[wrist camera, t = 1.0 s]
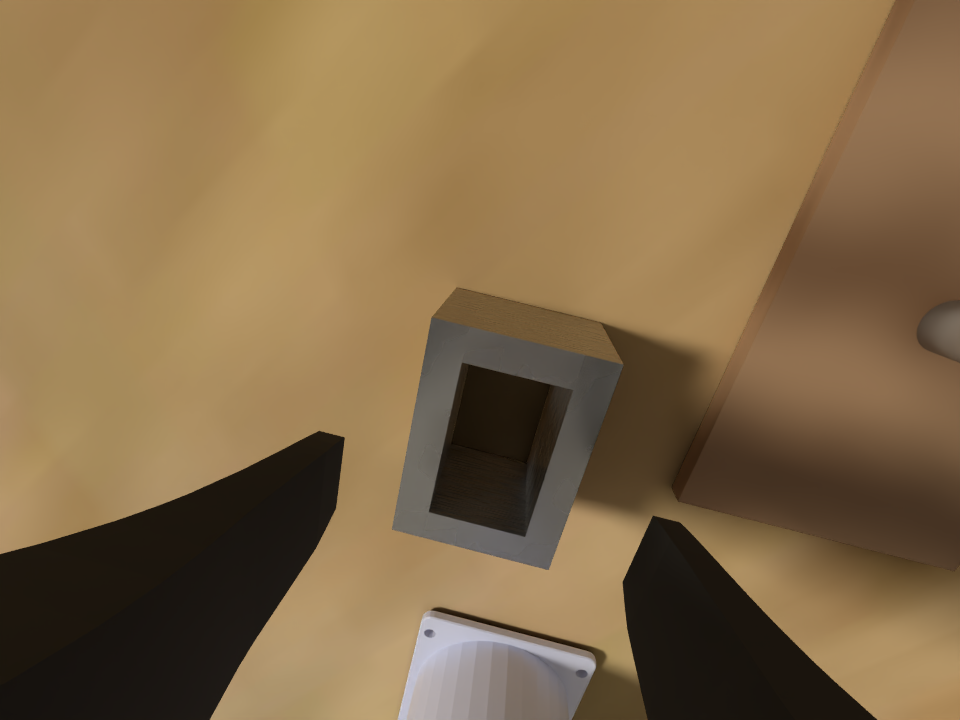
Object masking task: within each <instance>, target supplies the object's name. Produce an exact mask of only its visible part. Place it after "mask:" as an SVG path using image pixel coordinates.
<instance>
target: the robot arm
mask: <svg viewBox="0 0 960 720" xmlns="http://www.w3.org/2000/svg"><path fill="white" fill-rule="evenodd" d="M344 439H345V437H341V436H337V435H333V434H329V433H325V432H321V431H318V432H316V433H314V434H312V435H310V436H308V437H306V438H304V439H302V440H300V441H298V442H296V443H294V444H293V445H291V446H289V447H287V448H285V449H283V450H281V451H279V452H277V453H275V454H273V455H271V456H269V457H267V458H265V459H263V460H261V461H259V462H257V463H255V464H253V465H251V466H249V467H247V468H245V469H243V470H241V471H239V472H237V473H234V474H232V475H230V476H228V477H225V478H223V479H221V480H219V481H216V482H214V483H212V484H210V485H208V486H205V487H203V488H201V489H199V490H196V491H194V492H192V493H189V494H187V495H185V496H182V497H180V498H177V499H175V500H172V501H170V502H167V503H164V504H162V505H159V506H156V507H154V508H151V509H148V510H145V511H143V512H140V513H137V514H134V515H131V516H129V517H126V518H123V519H120V520H117V521H114V522H111V523H107V524H104V525H101V526H98V527H94V528H91V529H88V530H84V531H81V532H78V533H74V534H71V535H68V536H65V537H61V538H58V539H55V540H51V541H48V542H45V543H41V544H37V545H34V546H30V547H26V548H22V549H18V550H15V551H11V552H7V553H3V554H0V720H210V718H211V716H212V714H213V713H214V711H215V709H216V707H217V705H218V703H219V702H220V700H221V698H222V696H223V694H224V693H225V691H226V689H227V687H228V685H229V683H230V682H231V680H232V678H233V676H234V674H235V672H236V671H237V669H238V667H239V665H240V664H241V662H242V660H243V659H244V657H245V656H246V654H247V652H248V651H249V649H250V647H251V646H252V644H253V642H254V641H255V639H256V638H257V636H258V635H259V633H260V632H261V630H262V629H263V627H264V626H265V624H266V623H267V621H268V620H269V618H270V617H271V615H272V614H273V612H274V611H275V609H276V608H277V606H278V605H279V603H280V602H281V600H282V599H283V597H284V596H285V594H286V593H287V591H288V590H289V588H290V587H291V585H292V584H293V582H294V581H295V579H296V578H297V576H298V575H299V573H300V572H301V570H302V569H303V567H304V566H305V564H306V563H307V561H308V559H309V558H310V556H311V555H312V553H313V552H314V550H315V549H316V547H317V545H318V543H319V541H320V539H321V537H322V535H323V533H324V531H325V530H326V527H327V525H328V523H329V521H330V519H331V517H332V515H333V513H334V511H335V509H336V504H337V496H338V488H339V480H340V472H341V464H342V455H343V447H344ZM623 591H624V603H625V612H626V621H627V629H628V634H629V639H630V643H631V648H632V652H633V657H634V661H635V666H636V670H637V675H638V679H639V683H640V688H641V692H642V696H643V701H644V705H645V709H646V714H647V718H648V720H877V719H876V718H875V717H873V716H872V715H871V714H870V713H869V712H868V711H867V710H866V709H865V708H863V707H862V706H861V705H860V704H859V703H858V702H857V701H856V700H855V699H853V698H852V697H851V696H850V695H849V694H848V693H847V692H846V691H845V690H843V689H842V688H841V687H840V686H839V685H838V684H837V683H836V682H835V681H833V680H832V679H831V678H830V677H829V676H828V675H827V674H826V673H825V672H824V671H823V670H822V669H821V668H820V667H818V666H817V665H816V664H815V663H814V662H813V661H812V660H811V659H810V658H809V657H808V656H807V655H806V654H805V653H804V652H803V651H802V650H801V649H800V648H799V647H798V646H797V645H796V644H795V643H794V642H793V641H792V640H791V639H790V638H789V637H788V636H787V635H786V634H785V633H784V632H783V631H782V630H781V629H780V628H779V627H778V626H777V625H776V624H775V623H774V622H773V621H772V620H771V619H770V618H769V617H768V616H767V615H766V614H765V613H764V612H763V610H762V609H761V608H760V607H759V606H758V605H757V604H756V603H755V602H754V601H753V600H752V599H751V598H750V597H749V596H748V595H747V593H746V592H745V591H744V590H743V589H742V588H741V587H740V586H739V585H738V584H737V583H736V582H735V580H734V579H733V578H732V577H731V576H730V575H729V574H728V573H727V572H726V571H725V570H724V568H723V567H722V566H721V565H720V564H719V563H718V562H717V561H716V560H715V559H714V558H713V556H712V555H711V554H710V553H709V552H708V551H707V550H706V549H705V548H704V547H703V546H702V545H701V543H700V542H699V541H698V540H697V539H696V538H695V537H694V536H693V535H692V534H691V533H690V532H689V531H688V530H687V529H686V528H685V527H684V526H683V525H682V524H681V523H680V522H676V521H672V520H668V519H664V518H660V517H656V516H653V517H652V519H651V521H650V524H649V526H648V528H647V530H646V532H645V534H644V537H643V539H642V541H641V543H640V545H639V548H638V550H637V552H636V554H635V556H634V559H633V561H632V563H631V565H630V567H629V569H628V572H627V574H626V576H625V578H624V580H623ZM430 629H431V630H430ZM595 669H596V659H595V656H594V655H593V654H592V653H591V652H589V651H586V650H582V649H578V648H574V647H571V646H567V645H563V644H559V643H555V642H552V641H548V640H544V639H540V638H536V637H533V636H529V635H525V634H521V633H517V632H514V631H510V630H506V629H502V628H498V627H495V626H491V625H487V624H483V623H479V622H475V621H472V620H468V619H464V618H460V617H456V616H453V615H449V614H445V613H441V612H437V611H427V612H426V613H424V615H423V617H422V621H421V625H420V629H419V633H418V637H417V642H416V646H415V650H414V654H413V658H412V662H411V667H410V671H409V675H408V679H407V683H406V687H405V691H404V696H403V700H402V704H401V708H400V712H399V716H398V720H572V718H573V716H574V714H575V712H576V710H577V707H578V705H579V703H580V701H581V699H582V697H583V695H584V692H585V690H586V688H587V686H588V684H589V682H590V680H591V678H592V675H593V673H594V671H595Z"/></svg>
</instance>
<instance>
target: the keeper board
mask: <svg viewBox="0 0 960 720" xmlns="http://www.w3.org/2000/svg"><path fill="white" fill-rule="evenodd" d="M672 490H673V492H674V494H675V496H676V498H677V500H678V501H679V502H683V503H687V504H691V505H695V506H699V507H702V508H706V509H710V510H714V511H718V512H722V513H726V514H730V515H734V516H738V517H742V518H746V519H750V520H754V521H758V522H762V523H766V524H770V525H774V526H778V527H782V528H786V529H789V530H793V531H797V532H801V533H805V534H809V535H813V536H817V537H821V538H825V539H829V540H833V541H837V542H841V543H845V544H849V545H853V546H857V547H861V548H865V549H869V550H873V551H876V552H880V553H884V554H888V555H892V556H896V557H900V558H904V559H908V560H912V561H916V562H920V563H924V564H928V565H932V566H936V567H940V568H944V569H948V570H952V571H955V570H956V569H957V568H958V567H959V565H960V0H896V1H895V3H894V5H893V7H892V10H891V12H890V14H889V16H888V18H887V20H886V23H885V25H884V27H883V29H882V31H881V34H880V36H879V38H878V40H877V42H876V44H875V47H874V49H873V51H872V53H871V55H870V57H869V60H868V62H867V64H866V66H865V68H864V71H863V73H862V75H861V77H860V79H859V81H858V84H857V86H856V88H855V90H854V92H853V94H852V97H851V99H850V101H849V103H848V105H847V107H846V110H845V112H844V114H843V116H842V118H841V121H840V123H839V125H838V127H837V129H836V131H835V134H834V136H833V138H832V140H831V142H830V144H829V147H828V149H827V151H826V153H825V155H824V158H823V160H822V162H821V164H820V166H819V168H818V171H817V173H816V175H815V177H814V179H813V181H812V184H811V186H810V188H809V190H808V192H807V194H806V197H805V199H804V201H803V203H802V205H801V208H800V210H799V212H798V214H797V216H796V218H795V221H794V223H793V225H792V227H791V229H790V231H789V234H788V236H787V238H786V240H785V242H784V245H783V247H782V249H781V251H780V253H779V255H778V258H777V260H776V262H775V264H774V266H773V268H772V271H771V273H770V275H769V277H768V279H767V281H766V284H765V286H764V288H763V290H762V292H761V295H760V297H759V299H758V301H757V303H756V305H755V308H754V310H753V312H752V314H751V316H750V318H749V321H748V323H747V325H746V327H745V329H744V332H743V334H742V336H741V338H740V340H739V342H738V345H737V347H736V349H735V351H734V353H733V355H732V358H731V360H730V362H729V364H728V366H727V369H726V371H725V373H724V375H723V377H722V379H721V382H720V384H719V386H718V388H717V390H716V392H715V395H714V397H713V399H712V401H711V403H710V405H709V408H708V410H707V412H706V414H705V416H704V419H703V421H702V423H701V425H700V427H699V429H698V432H697V434H696V436H695V438H694V440H693V442H692V445H691V447H690V449H689V451H688V453H687V456H686V458H685V460H684V462H683V464H682V466H681V469H680V471H679V473H678V475H677V477H676V479H675V482H674V484H673V486H672Z"/></svg>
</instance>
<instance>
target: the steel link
mask: <svg viewBox="0 0 960 720" xmlns="http://www.w3.org/2000/svg"><path fill="white" fill-rule="evenodd" d="M469 364H470V365H474V366H478V367H482V368H486V369H490V370H494V371H498V372H502V373H506V374H511V375H515V376H519V377H523V378H527V379H531V380H535V381H539V382H543V383H547V384H551V385H550V388H549V391H548V395H547V398H546V401H545V404H544V408H543V411H542V414H541V418H540V421H539V424H538V427H537V431H536V434H535V437H534V440H533V444H532V447H531V450H530V453H529V457H528V460H527V463H525V462H521V461H517V460H514V459H510V458H506V457H502V456H498V455H494V454H490V453H486V452H482V451H478V450H474V449H470V448H466V447H462V446H458V445H454V444H451V442H452V438H453V433H454V429H455V425H456V420H457V416H458V412H459V407H460V403H461V398H462V394H463V390H464V385H465V381H466V376H467V372H468V368H469ZM623 365H624V364H623V362H622V360H621V359H620V357H619V355H618V353H617V351H616V350H615V348H614V346H613V344H612V342H611V340H610V339H609V337H608V335H607V333H606V331H605V330H604V328H603V326H602V324H601V323H600V322H596V321H592V320H587V319H583V318H579V317H575V316H571V315H567V314H563V313H559V312H555V311H550V310H546V309H542V308H538V307H534V306H530V305H526V304H522V303H518V302H514V301H509V300H505V299H501V298H497V297H493V296H489V295H485V294H481V293H477V292H472V291H468V290H464V289H460V288H456V289H455V290H454V291H453V292H452V294H451V295H450V296H449V297H448V298H447V300H446V301H445V302H444V303H443V304H442V306H441V307H440V308H439V309H438V310H437V312H436V313H435V314H434V315H433V316H432V318H431V324H430V329H429V334H428V340H427V345H426V350H425V356H424V361H423V366H422V372H421V377H420V382H419V388H418V393H417V398H416V404H415V409H414V415H413V420H412V425H411V431H410V436H409V441H408V447H407V452H406V457H405V463H404V468H403V473H402V479H401V484H400V489H399V495H398V500H397V505H396V511H395V516H394V521H393V527H392V530H396V531H400V532H404V533H408V534H411V535H415V536H419V537H423V538H427V539H431V540H435V541H438V542H442V543H446V544H450V545H454V546H458V547H462V548H465V549H469V550H473V551H477V552H481V553H485V554H489V555H493V556H496V557H500V558H504V559H508V560H512V561H516V562H520V563H523V564H527V565H531V566H535V567H539V568H543V569H547V570H549V567H550V565H551V562H552V559H553V556H554V554H555V551H556V548H557V546H558V543H559V540H560V537H561V535H562V532H563V529H564V526H565V524H566V521H567V518H568V516H569V513H570V510H571V507H572V505H573V502H574V499H575V496H576V494H577V491H578V488H579V485H580V483H581V480H582V477H583V475H584V472H585V469H586V466H587V464H588V461H589V458H590V455H591V453H592V450H593V447H594V445H595V442H596V439H597V436H598V434H599V431H600V428H601V425H602V423H603V420H604V417H605V415H606V412H607V409H608V406H609V404H610V401H611V398H612V395H613V393H614V390H615V387H616V385H617V382H618V379H619V376H620V374H621V371H622V368H623Z"/></svg>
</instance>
